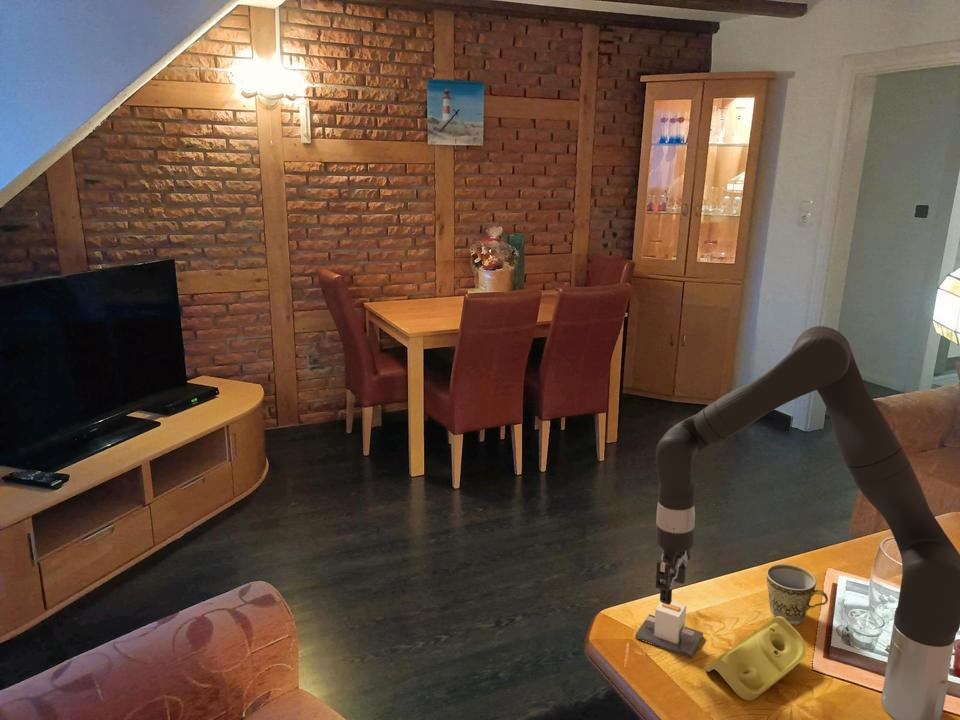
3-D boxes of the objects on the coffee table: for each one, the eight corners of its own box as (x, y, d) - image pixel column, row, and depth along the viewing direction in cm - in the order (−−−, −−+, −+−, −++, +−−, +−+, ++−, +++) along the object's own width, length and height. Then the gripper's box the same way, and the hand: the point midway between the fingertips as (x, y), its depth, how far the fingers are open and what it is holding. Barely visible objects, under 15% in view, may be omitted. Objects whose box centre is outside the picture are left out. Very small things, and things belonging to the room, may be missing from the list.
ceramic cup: (754, 615, 155) (758, 576, 152) (775, 596, 161) (779, 558, 158) (813, 643, 145) (818, 602, 143) (833, 622, 152) (838, 582, 149)
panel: (703, 636, 148) (703, 624, 147) (691, 658, 142) (692, 646, 141) (649, 618, 155) (649, 606, 154) (635, 638, 148) (636, 626, 148)
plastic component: (752, 699, 128) (713, 652, 134) (736, 716, 133) (699, 670, 139) (815, 650, 138) (776, 609, 144) (799, 667, 143) (761, 627, 148)
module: (684, 631, 149) (686, 603, 147) (677, 643, 145) (678, 616, 143) (662, 623, 151) (663, 596, 149) (654, 635, 147) (655, 608, 146)
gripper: (682, 543, 133) (679, 616, 137) (704, 512, 144) (701, 580, 149) (644, 533, 137) (643, 604, 142) (669, 504, 149) (666, 570, 153)
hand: (672, 592), depth 145 cm, fingers open, 8 cm apart
